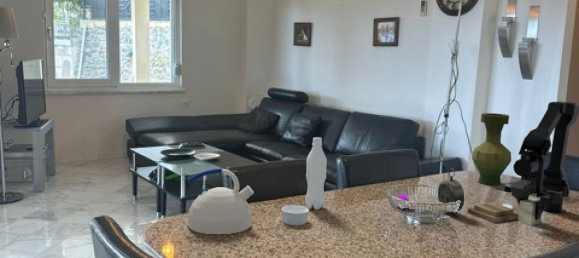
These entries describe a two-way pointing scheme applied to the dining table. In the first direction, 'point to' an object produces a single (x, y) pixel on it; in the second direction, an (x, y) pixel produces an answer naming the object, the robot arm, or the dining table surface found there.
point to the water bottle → (316, 175)
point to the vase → (492, 150)
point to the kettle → (220, 208)
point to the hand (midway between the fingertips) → (529, 217)
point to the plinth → (493, 219)
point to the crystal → (404, 197)
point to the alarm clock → (451, 191)
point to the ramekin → (295, 215)
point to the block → (528, 212)
